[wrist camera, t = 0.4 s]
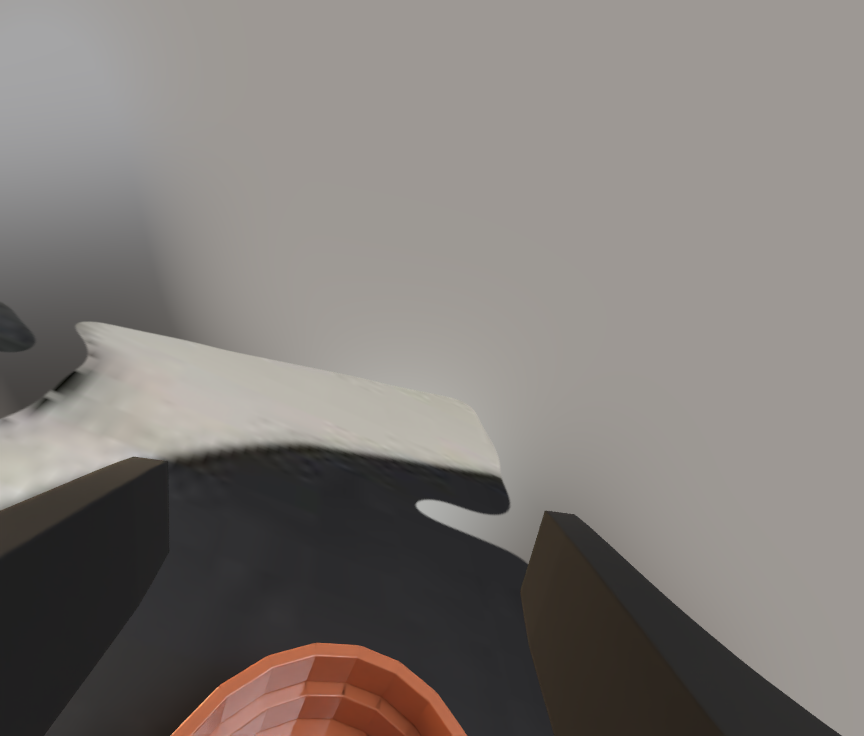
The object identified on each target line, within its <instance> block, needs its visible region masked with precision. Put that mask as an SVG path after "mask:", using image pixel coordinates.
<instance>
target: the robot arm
mask: <svg viewBox="0 0 864 736" xmlns="http://www.w3.org/2000/svg"><path fill="white" fill-rule="evenodd" d="M168 553H169V491H168V461H162V460H155V459H147V458H139V457H131V458H128V459H126V460H123V461H120V462H117V463H114V464H112V465H109V466H107V467H104V468H102V469H99V470H97V471H94V472H92V473H89V474H87V475H85V476H82V477H80V478H77V479H75V480H73V481H70V482H68V483H66V484H63V485H61V486H58V487H56V488H54V489H51V490H49V491H47V492H44V493H42V494H39V495H37V496H35V497H32V498H30V499H27V500H25V501H23V502H20V503H18V504H15V505H13V506H11V507H8V508H6V509H4V510H1V511H0V736H44V735H45V733H46V732H47V731H48V729H49V728H50V727H51V725H52V724H53V723H54V721H55V720H56V718H57V717H58V716H59V714H60V713H61V712H62V710H63V709H64V708H65V706H66V705H67V703H68V702H69V701H70V699H71V698H72V697H73V695H74V694H75V693H76V691H77V690H78V688H79V687H80V686H81V684H82V683H83V682H84V680H85V679H86V678H87V676H88V675H89V674H90V672H91V671H92V669H93V668H94V667H95V665H96V664H97V663H98V661H99V660H100V659H101V657H102V656H103V654H104V653H105V652H106V650H107V649H108V648H109V646H110V645H111V643H112V642H113V641H114V639H115V638H116V636H117V635H118V634H119V632H120V631H121V630H122V628H123V627H124V625H125V624H126V623H127V621H128V620H129V618H130V617H131V616H132V614H133V613H134V611H135V610H136V609H137V607H138V606H139V604H140V602H141V601H142V599H143V597H144V596H145V594H146V592H147V590H148V589H149V587H150V585H151V584H152V582H153V580H154V578H155V577H156V575H157V573H158V571H159V569H160V567H161V566H162V564H163V562H164V560H165V558H166V557H167V555H168ZM520 592H521V599H522V606H523V613H524V619H525V625H526V631H527V637H528V642H529V647H530V651H531V655H532V658H533V662H534V666H535V669H536V673H537V676H538V680H539V684H540V687H541V691H542V694H543V698H544V701H545V705H546V708H547V712H548V715H549V719H550V722H551V726H552V729H553V733H554V736H841V735H840V734H839V733H837V732H836V731H834V730H833V729H831V728H830V727H829V726H827V725H826V724H824V723H823V722H822V721H820V720H819V719H818V718H816V717H815V716H814V715H812V714H811V713H810V712H808V711H807V710H805V709H804V708H803V707H802V706H800V705H799V704H798V703H796V702H795V701H794V700H792V699H791V698H790V697H788V696H787V695H786V694H784V693H783V692H782V691H780V690H779V689H778V688H776V687H775V686H774V685H772V684H771V683H770V682H768V681H767V680H766V679H764V678H763V677H762V676H760V675H759V674H758V673H757V672H755V671H754V670H753V669H752V668H750V667H749V666H748V665H747V664H745V663H744V662H743V661H741V660H740V659H739V658H738V657H737V656H735V655H734V654H733V653H732V652H731V651H729V650H728V649H727V648H726V647H725V646H723V645H722V644H721V643H720V642H718V641H717V640H716V639H715V638H714V637H713V636H711V635H710V634H709V633H708V632H707V631H705V630H704V629H703V628H702V627H701V626H699V625H698V624H697V623H696V622H695V621H693V620H692V619H691V618H690V617H689V616H688V615H686V614H685V613H684V612H683V611H682V610H681V609H680V608H678V607H677V606H676V605H675V604H674V603H672V601H670V600H669V599H668V598H667V597H666V596H665V595H664V594H663V593H662V592H660V591H659V590H658V589H657V588H656V587H655V586H654V585H653V584H652V583H650V582H649V581H648V580H647V579H646V578H645V577H644V576H643V575H642V574H641V573H639V572H638V571H637V570H636V569H635V568H634V567H633V566H632V565H631V564H630V563H629V562H628V561H626V560H625V559H624V558H623V557H622V556H621V555H620V554H619V553H618V552H617V551H616V550H615V549H613V548H612V547H611V546H610V545H609V544H608V543H607V542H606V541H605V540H604V539H602V538H601V537H600V536H599V535H598V534H597V533H596V532H595V531H593V529H591V528H590V527H589V526H588V525H587V524H586V523H584V522H583V521H582V520H581V519H580V518H578V517H577V516H575V515H574V514H567V513H559V512H552V511H545V512H544V516H543V519H542V522H541V526H540V529H539V532H538V535H537V538H536V542H535V545H534V548H533V551H532V555H531V558H530V561H529V564H528V568H527V571H526V574H525V578H524V581H523V584H522V587H521V591H520Z"/></svg>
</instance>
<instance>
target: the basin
mask: <svg viewBox="0 0 864 736" xmlns="http://www.w3.org/2000/svg"><path fill="white" fill-rule="evenodd" d="M171 736H467V734H466V733H465V732H464V730H463V729H462V727H461V726H460V725H459V723H458V722H457V720H456V719H455V717H454V716H453V715H452V713H451V712H450V710H449V709H448V708H447V706H446V705H445V703H444V702H443V700H442V699H441V698H440V696H439V695H438V693H436V692H435V690H433V689H432V688H431V687H430V686H428V685H427V684H426V683H425V682H424V681H422V680H421V679H420V678H419V677H418V676H416V675H415V674H414V673H413V672H412V671H410V670H409V669H408V668H407V667H405V666H404V665H403V664H402V663H400V662H399V661H397V660H394V659H392V658H390V657H387V656H385V655H382V654H380V653H377V652H375V651H372V650H370V649H367V648H365V647H362V646H359V645H346V644H329V643H313V644H309V645H305V646H302V647H298V648H294V649H291V650H287V651H283V652H279V653H276V654H272V655H269V656H266V657H265V658H263V659H261V660H260V661H258V662H257V663H255V664H253V665H252V666H250V667H248V668H247V669H245V670H244V671H242V672H240V673H239V674H237V675H235V676H234V677H232V678H231V679H229V680H227V681H226V682H224V683H222V684H221V685H220V686H219V687H217V688H216V689H215V690H214V691H213V692H212V693H211V694H210V695H209V696H208V697H207V698H206V699H205V700H204V701H203V703H202V704H201V705H200V706H199V707H198V708H197V709H196V710H195V711H194V712H193V713H192V714H191V715H190V716H189V717H188V718H187V719H186V720H185V721H184V722H183V723H182V724H181V725H180V726H179V727H178V728H177V729H176V730H175V732H174V733H173V734H172V735H171Z"/></svg>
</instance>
